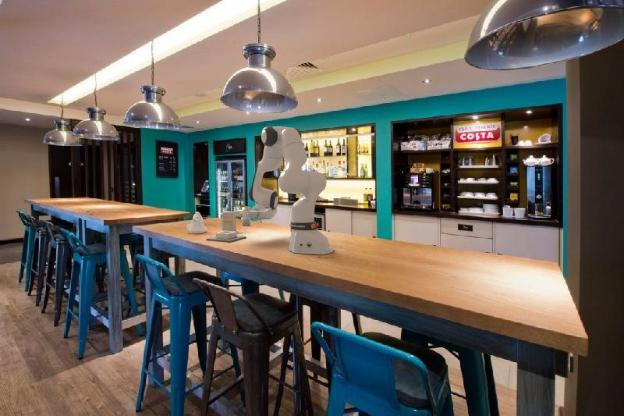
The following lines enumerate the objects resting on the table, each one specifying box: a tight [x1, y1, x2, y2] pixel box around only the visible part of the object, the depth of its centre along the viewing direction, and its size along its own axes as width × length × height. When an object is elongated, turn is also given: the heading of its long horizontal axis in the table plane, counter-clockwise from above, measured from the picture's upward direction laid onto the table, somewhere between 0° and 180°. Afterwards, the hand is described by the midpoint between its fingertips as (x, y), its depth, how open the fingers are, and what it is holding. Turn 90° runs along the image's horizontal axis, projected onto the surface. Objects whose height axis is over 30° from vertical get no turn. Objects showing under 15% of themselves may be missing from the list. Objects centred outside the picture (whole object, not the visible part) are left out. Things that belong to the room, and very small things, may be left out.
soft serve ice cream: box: [186, 211, 208, 234], centre depth 229 cm, size 12×15×14 cm
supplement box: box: [221, 210, 237, 232], centre depth 233 cm, size 8×5×13 cm, turn 84°
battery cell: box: [241, 205, 251, 227], centre depth 193 cm, size 4×4×11 cm
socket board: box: [205, 230, 247, 243], centre depth 204 cm, size 16×16×4 cm
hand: (245, 215), depth 192 cm, fingers closed on battery cell, 4 cm apart
